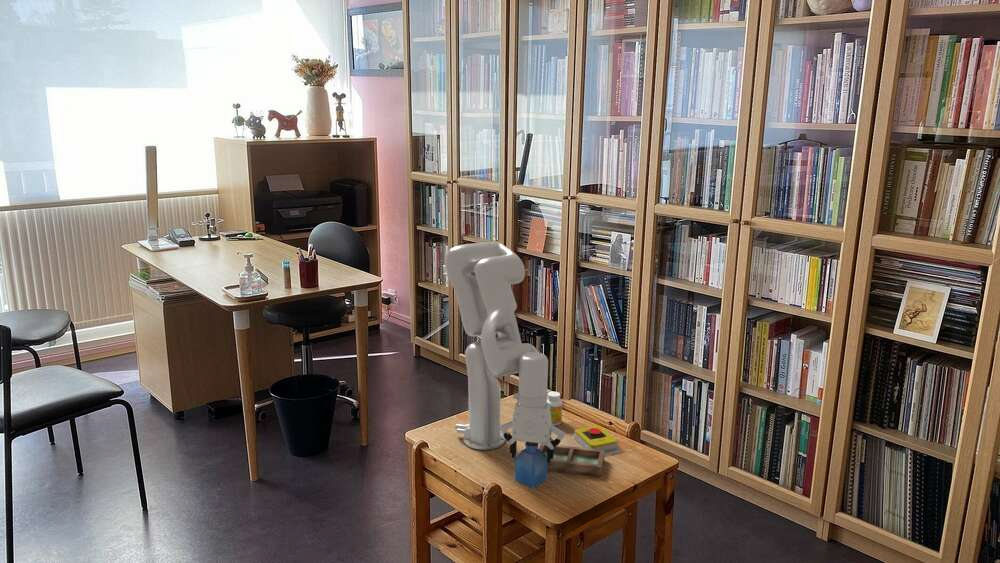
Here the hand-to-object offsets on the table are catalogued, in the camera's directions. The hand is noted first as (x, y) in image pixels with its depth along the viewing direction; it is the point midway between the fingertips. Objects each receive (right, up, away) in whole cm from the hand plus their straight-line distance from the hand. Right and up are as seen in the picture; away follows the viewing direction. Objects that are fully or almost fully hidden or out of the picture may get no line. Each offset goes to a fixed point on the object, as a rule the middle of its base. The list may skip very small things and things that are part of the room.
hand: (531, 458), depth 194 cm
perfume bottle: (0, -6, +2) cm, 7 cm away
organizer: (+11, -4, +10) cm, 16 cm away
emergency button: (+20, -2, +22) cm, 30 cm away
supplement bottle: (+9, +2, +36) cm, 38 cm away
